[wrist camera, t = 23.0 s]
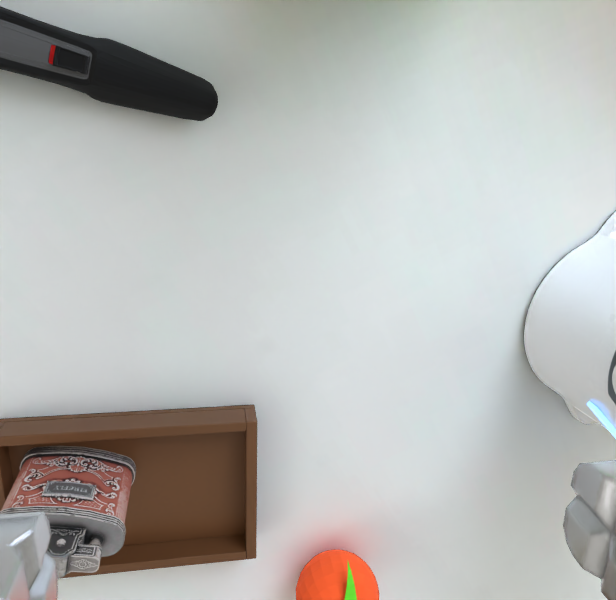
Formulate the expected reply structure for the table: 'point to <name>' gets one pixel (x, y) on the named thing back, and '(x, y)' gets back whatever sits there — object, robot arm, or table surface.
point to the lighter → (76, 501)
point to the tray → (162, 479)
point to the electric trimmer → (102, 69)
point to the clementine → (337, 578)
